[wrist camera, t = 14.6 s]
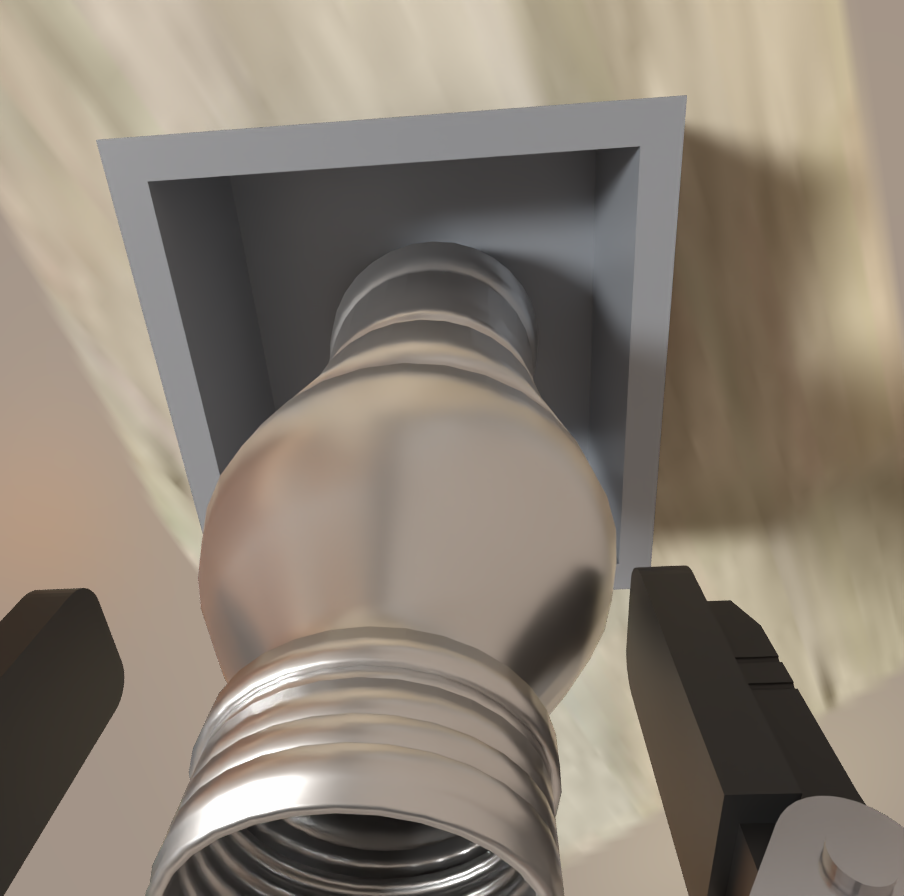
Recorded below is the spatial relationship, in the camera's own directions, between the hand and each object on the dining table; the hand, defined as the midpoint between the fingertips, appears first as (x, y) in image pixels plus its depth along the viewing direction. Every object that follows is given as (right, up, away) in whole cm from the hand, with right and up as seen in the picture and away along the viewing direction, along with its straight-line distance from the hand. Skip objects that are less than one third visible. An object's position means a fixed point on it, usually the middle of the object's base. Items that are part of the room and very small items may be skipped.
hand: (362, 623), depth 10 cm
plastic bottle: (+1, +7, +14) cm, 16 cm away
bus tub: (0, +7, +15) cm, 17 cm away
